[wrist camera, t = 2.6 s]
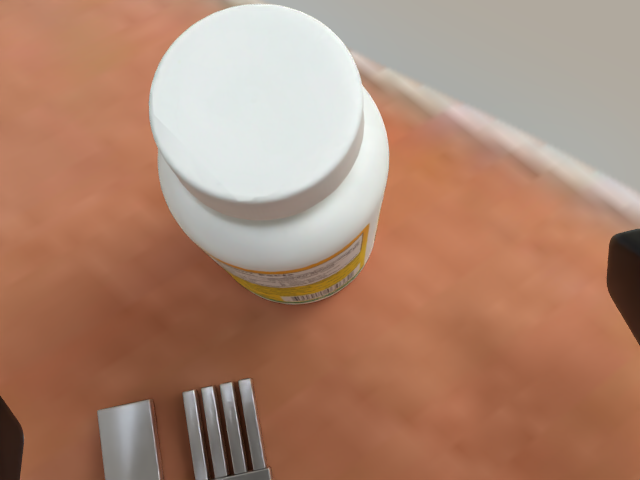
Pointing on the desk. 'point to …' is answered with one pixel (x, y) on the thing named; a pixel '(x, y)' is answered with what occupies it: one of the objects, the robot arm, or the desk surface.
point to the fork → (261, 474)
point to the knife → (130, 442)
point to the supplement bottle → (270, 150)
